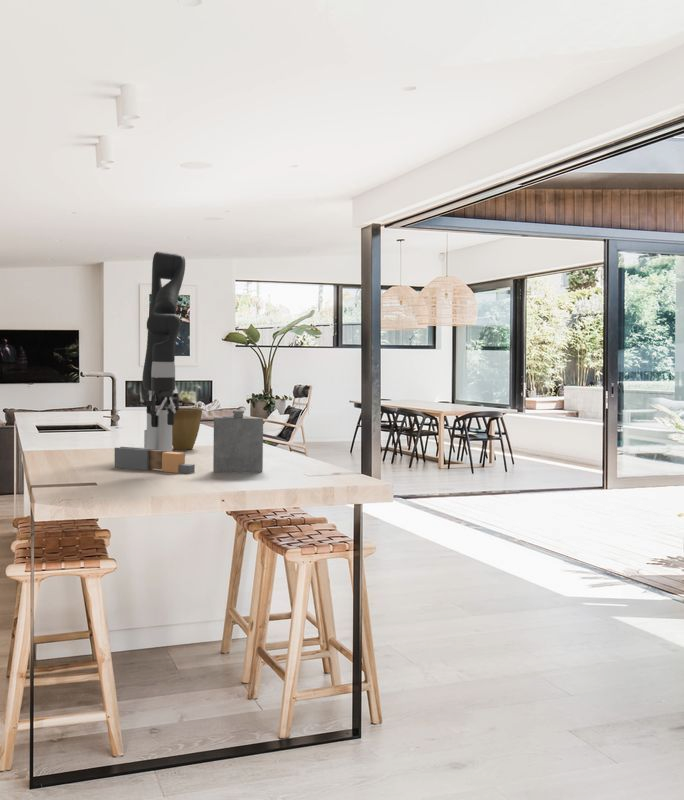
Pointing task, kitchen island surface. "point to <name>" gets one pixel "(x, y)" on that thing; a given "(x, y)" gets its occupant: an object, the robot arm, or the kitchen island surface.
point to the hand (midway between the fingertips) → (162, 425)
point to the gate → (155, 459)
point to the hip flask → (238, 444)
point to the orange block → (172, 461)
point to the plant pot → (185, 428)
